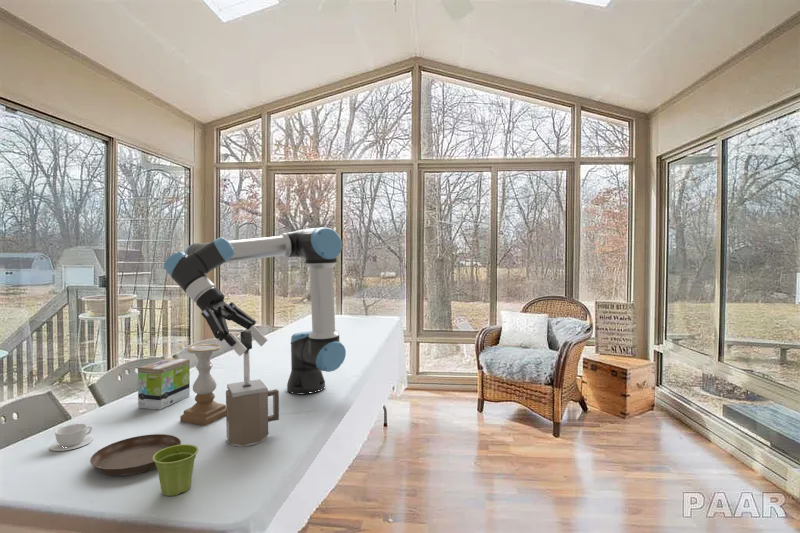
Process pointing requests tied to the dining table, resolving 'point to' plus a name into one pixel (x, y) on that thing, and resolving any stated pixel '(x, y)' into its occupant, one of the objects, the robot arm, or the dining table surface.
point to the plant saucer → (131, 454)
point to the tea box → (163, 383)
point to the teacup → (71, 437)
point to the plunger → (246, 355)
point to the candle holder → (204, 389)
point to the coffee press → (249, 412)
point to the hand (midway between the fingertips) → (254, 347)
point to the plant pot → (175, 468)
